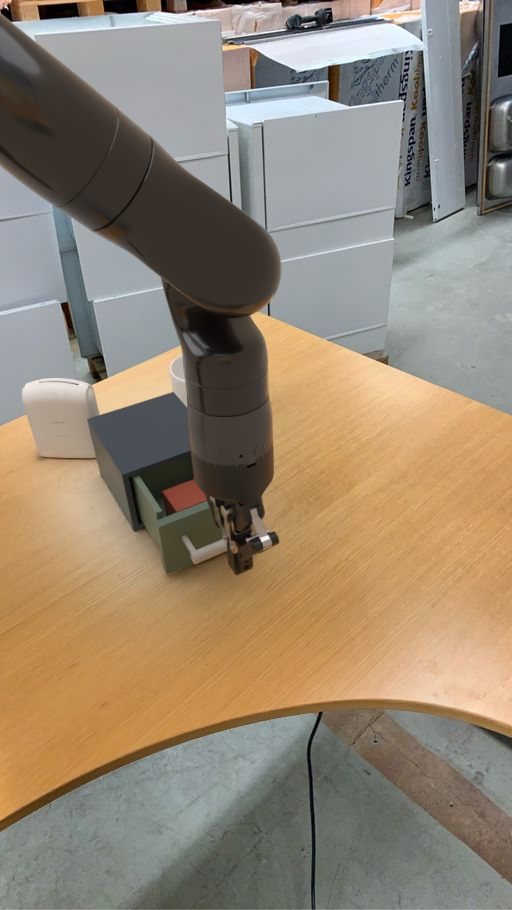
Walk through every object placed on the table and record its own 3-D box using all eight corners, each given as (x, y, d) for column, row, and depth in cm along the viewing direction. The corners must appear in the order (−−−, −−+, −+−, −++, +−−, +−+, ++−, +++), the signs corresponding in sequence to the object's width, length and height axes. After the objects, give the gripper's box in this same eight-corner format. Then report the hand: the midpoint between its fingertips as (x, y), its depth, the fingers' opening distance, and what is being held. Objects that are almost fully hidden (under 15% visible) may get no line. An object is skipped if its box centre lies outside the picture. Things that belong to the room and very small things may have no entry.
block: (180, 538, 80) (176, 511, 77) (166, 516, 83) (162, 490, 80) (212, 525, 81) (210, 498, 79) (197, 504, 84) (194, 478, 82)
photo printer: (35, 459, 96) (13, 388, 89) (45, 441, 100) (24, 371, 92) (103, 461, 95) (86, 389, 88) (111, 443, 99) (95, 373, 91)
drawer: (269, 560, 78) (267, 512, 73) (181, 599, 74) (173, 551, 69) (208, 482, 89) (203, 437, 85) (129, 512, 85) (119, 466, 81)
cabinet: (221, 497, 88) (216, 441, 82) (133, 532, 84) (121, 474, 78) (180, 445, 98) (173, 391, 92) (100, 473, 93) (86, 418, 87)
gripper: (163, 413, 62) (183, 542, 72) (227, 492, 52) (238, 627, 63) (234, 390, 64) (243, 517, 75) (306, 462, 55) (304, 596, 66)
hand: (241, 567), depth 69 cm, fingers closed
